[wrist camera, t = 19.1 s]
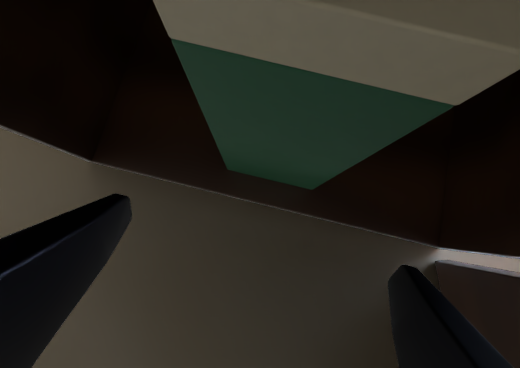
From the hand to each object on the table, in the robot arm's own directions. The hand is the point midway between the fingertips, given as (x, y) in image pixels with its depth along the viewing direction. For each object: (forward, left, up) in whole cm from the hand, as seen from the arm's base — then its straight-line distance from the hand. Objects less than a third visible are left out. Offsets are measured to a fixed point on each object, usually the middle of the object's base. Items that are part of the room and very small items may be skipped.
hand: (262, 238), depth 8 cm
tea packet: (+5, +2, -8) cm, 10 cm away
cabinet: (+9, +3, -9) cm, 13 cm away
